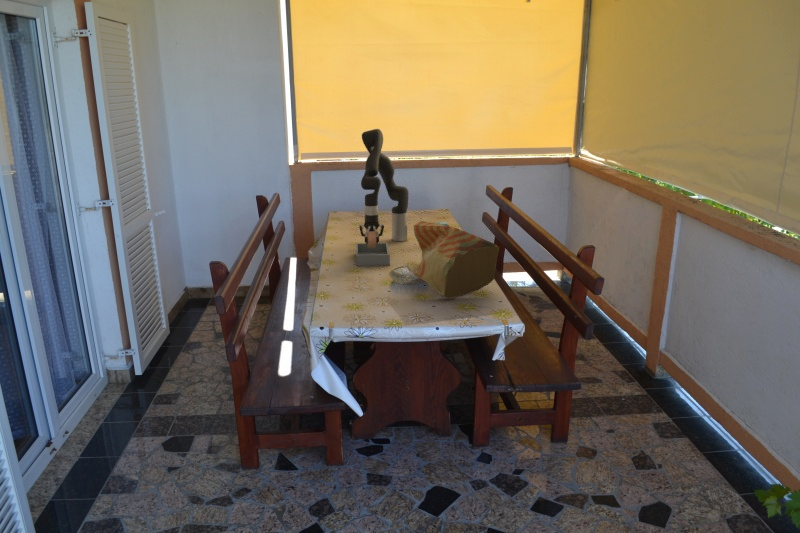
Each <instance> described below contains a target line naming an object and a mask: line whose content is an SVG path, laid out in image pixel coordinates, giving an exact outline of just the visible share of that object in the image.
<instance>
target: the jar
mask: <svg viewBox="0 0 800 533" xmlns="http://www.w3.org/2000/svg"><path fill="white" fill-rule="evenodd" d="M367 247H368V248H375V247H377V235H376V233H375V231H369V232H368V235H367Z"/></svg>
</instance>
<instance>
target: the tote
mask: <svg viewBox="0 0 800 533" xmlns="http://www.w3.org/2000/svg"><path fill="white" fill-rule="evenodd" d="M388 244H389V243H388V242H378V244H377V247H375V248H368V247H367V244H366V243H363V242H362V243H358V242H357V243H355V259H356V260H355V262H356V264H355V266H356V267H371V266H372V267H375V266H379V267H380V266H390V265H391V255H390V250H389V245H388Z"/></svg>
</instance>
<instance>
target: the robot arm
mask: <svg viewBox="0 0 800 533" xmlns="http://www.w3.org/2000/svg"><path fill="white" fill-rule="evenodd" d="M361 139H362V143H363V145H364V147H365V148H366V150H367V153H368V154H369V155H368V156H367V159H366V161H365V169H364V170H365V171H364V174H363V176H362V178H361V180H360V181H361V183H360V186H361V188H362V189H363V190H364V191H372V192H371V193H367V194H365V195H364V223H363V224H359V226H358V227H359V231H360V236H361V237H364V242H365V243H366V244H367V235H368V232H369V231H375V233H376V235H377V244H378V243H380V237H382V236H383V234H384V228H385V225H384V224H380V222H379V213H380V212H379V201H378V200H379V192H380V189H381V184H382V181H383V183H384V186H385V189H386V192H387V194H388V196H389V199H391V200H392V201H395V202H397V205H395V206H393V207H391V240H392V241H393V242H394V241H395V242H405V241H406V242H407V241H408V221H407V220H408V213H407V212H408V206H409V189H408V188H407V187H406V186H401V185H397V184H396V182H395V181H394V175H395V167H394V165H393V162H392V160H391V158H389V157H388V156H387V155H386V154H384V153H382V149H383V144H384V135H383V132H382V130H381V129H379V128H375V129H374V128H373V129H370V130H367V131H364V132H362V134H361ZM378 174H379V175H380V177H381V178H380V177H379V176H377V175H378ZM381 180H382V181H381ZM364 228H365V229H366V230H365V232H364V231H363V229H364ZM378 229H379V230H380V232H379V231H378Z"/></svg>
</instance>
